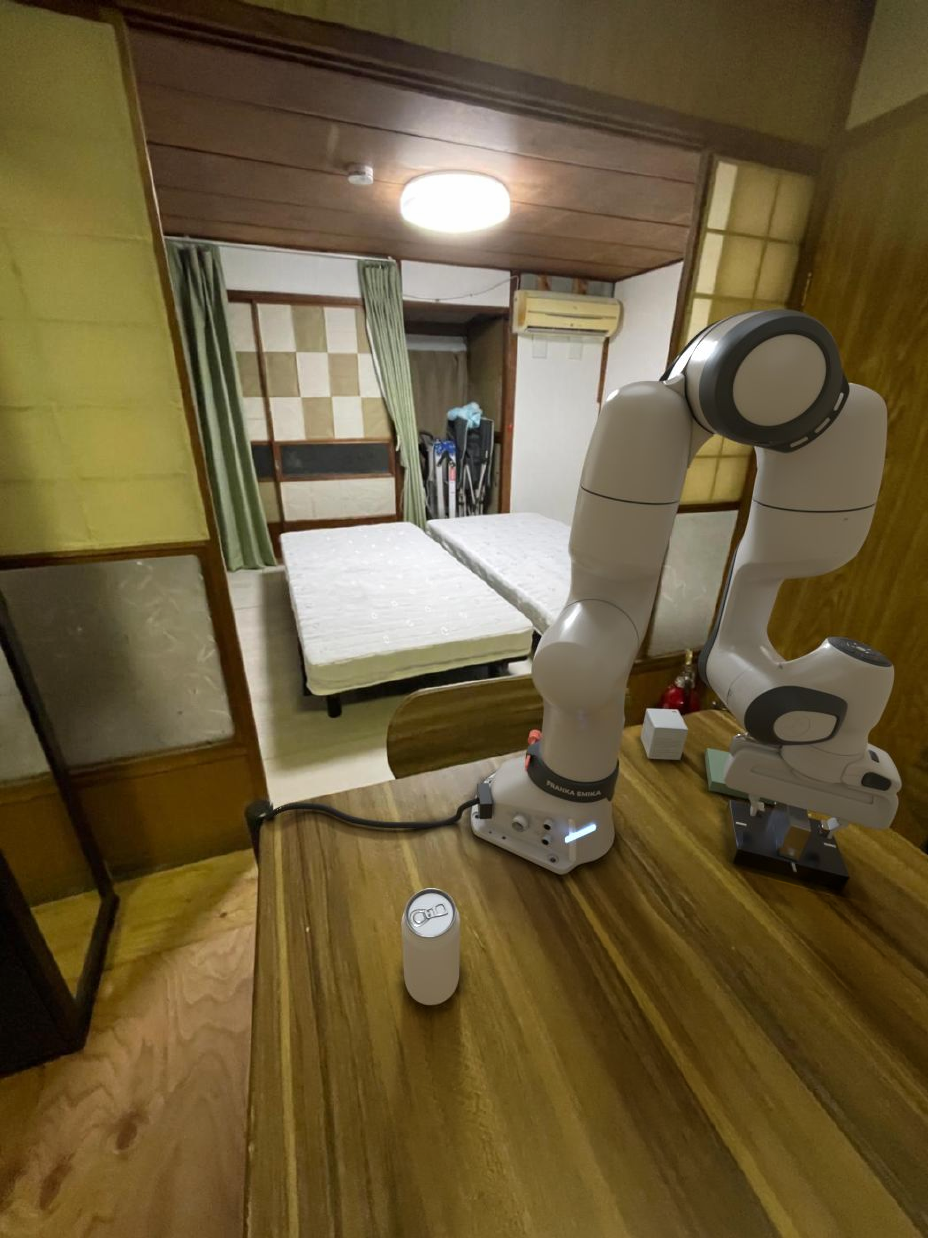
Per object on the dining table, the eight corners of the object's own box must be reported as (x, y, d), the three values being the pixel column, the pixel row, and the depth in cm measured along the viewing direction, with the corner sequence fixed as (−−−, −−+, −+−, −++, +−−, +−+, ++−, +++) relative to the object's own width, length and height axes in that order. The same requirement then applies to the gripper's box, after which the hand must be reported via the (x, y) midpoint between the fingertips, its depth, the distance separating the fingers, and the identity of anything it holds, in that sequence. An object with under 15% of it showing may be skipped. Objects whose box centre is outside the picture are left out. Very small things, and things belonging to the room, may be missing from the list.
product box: (639, 737, 101) (645, 707, 97) (671, 739, 100) (678, 708, 97) (647, 759, 95) (654, 727, 92) (681, 761, 95) (689, 729, 92)
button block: (709, 790, 88) (714, 772, 86) (704, 757, 96) (709, 740, 94) (787, 808, 85) (794, 790, 83) (776, 772, 93) (782, 754, 91)
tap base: (734, 872, 74) (739, 856, 73) (723, 805, 85) (728, 791, 84) (846, 901, 70) (854, 886, 69) (819, 828, 81) (826, 813, 80)
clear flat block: (798, 861, 72) (812, 830, 69) (778, 855, 73) (790, 823, 70) (790, 816, 79) (803, 785, 77) (772, 810, 80) (784, 780, 78)
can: (398, 961, 62) (393, 896, 57) (448, 941, 64) (448, 877, 59) (413, 1017, 57) (410, 951, 52) (467, 994, 59) (469, 928, 54)
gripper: (734, 742, 70) (711, 816, 76) (918, 789, 63) (876, 866, 69) (733, 717, 76) (712, 787, 82) (903, 757, 68) (865, 831, 74)
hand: (788, 824), depth 75 cm, fingers open, 7 cm apart
